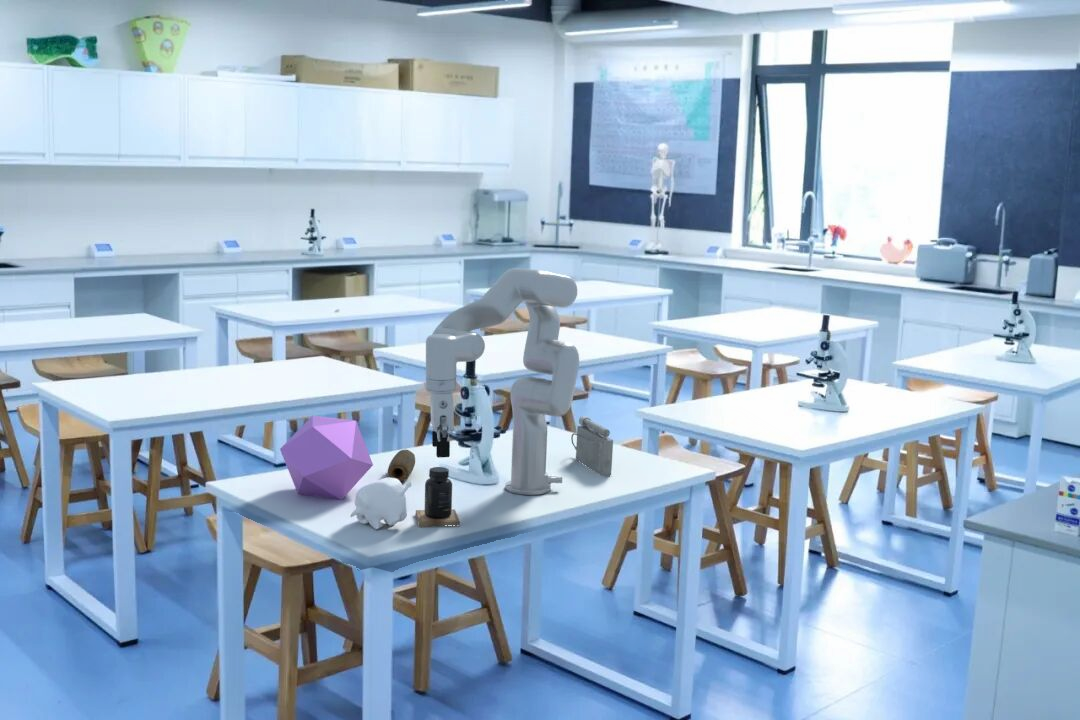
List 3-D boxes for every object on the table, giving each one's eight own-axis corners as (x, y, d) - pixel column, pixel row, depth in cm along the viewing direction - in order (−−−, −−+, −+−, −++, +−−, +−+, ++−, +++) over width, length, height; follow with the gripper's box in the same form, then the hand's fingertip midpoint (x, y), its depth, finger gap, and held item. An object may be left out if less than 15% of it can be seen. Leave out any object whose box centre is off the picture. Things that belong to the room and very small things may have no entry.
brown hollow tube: (391, 469, 334) (391, 447, 332) (415, 470, 334) (416, 447, 333) (386, 483, 319) (387, 460, 318) (411, 484, 319) (412, 461, 318)
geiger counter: (617, 429, 333) (583, 411, 356) (597, 430, 331) (564, 412, 354) (615, 475, 336) (580, 454, 359) (595, 477, 333) (562, 455, 356)
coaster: (454, 513, 294) (454, 509, 293) (459, 526, 284) (459, 521, 284) (415, 514, 292) (415, 509, 291) (419, 527, 282) (419, 522, 282)
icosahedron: (394, 476, 301) (364, 392, 309) (323, 489, 287) (293, 400, 295) (357, 509, 317) (329, 428, 324) (288, 522, 303) (261, 438, 310)
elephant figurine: (383, 530, 290) (365, 488, 291) (434, 505, 281) (415, 462, 282) (353, 543, 280) (333, 500, 281) (404, 519, 271) (384, 474, 272)
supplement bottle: (418, 514, 288) (419, 468, 286) (440, 509, 292) (441, 464, 290) (435, 521, 283) (436, 474, 281) (457, 516, 287) (458, 469, 285)
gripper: (460, 392, 274) (460, 460, 278) (452, 376, 291) (451, 441, 294) (429, 392, 273) (429, 461, 276) (422, 377, 289) (422, 442, 293)
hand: (440, 451), depth 285 cm, fingers open, 9 cm apart
